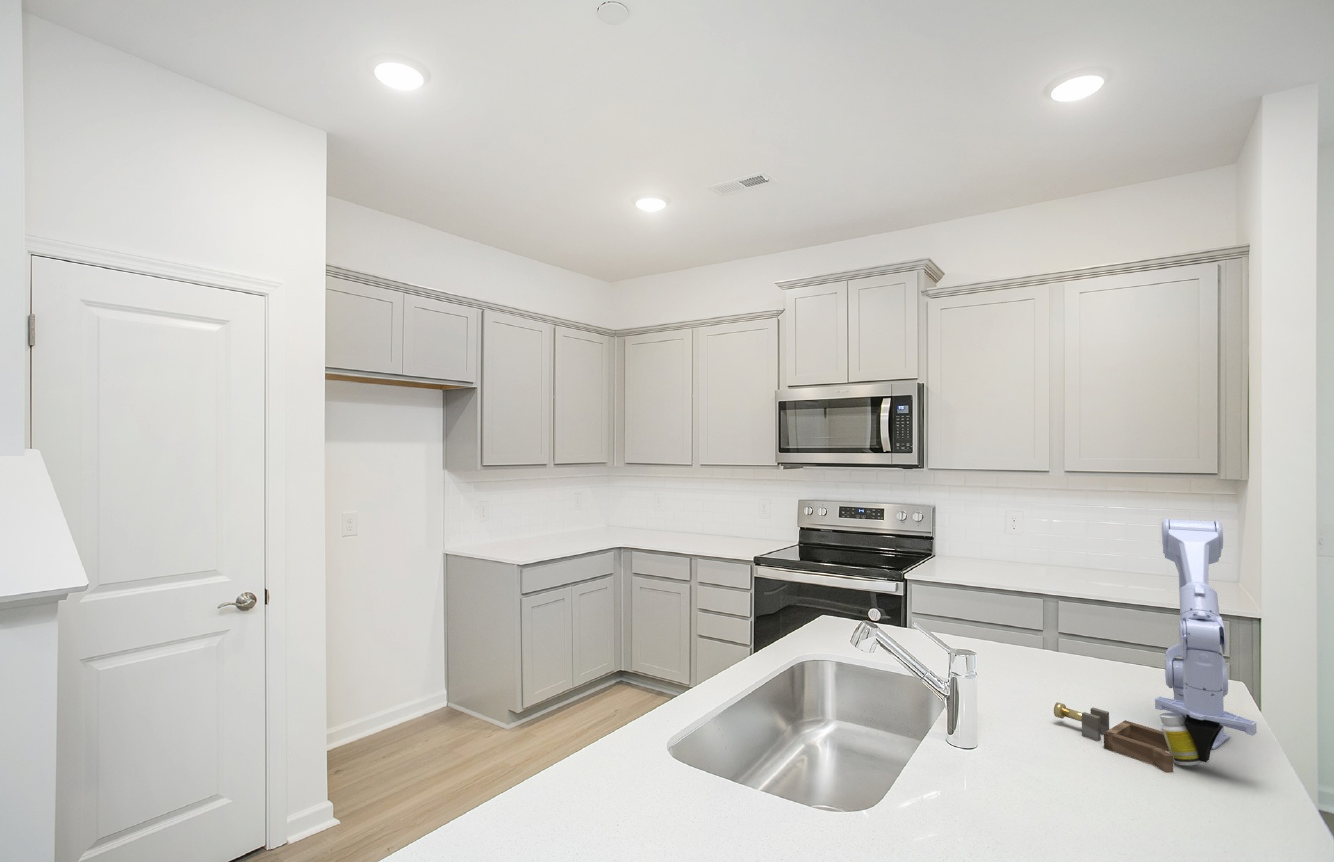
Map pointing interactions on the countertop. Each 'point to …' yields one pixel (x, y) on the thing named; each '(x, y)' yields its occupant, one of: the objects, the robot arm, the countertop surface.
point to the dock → (1128, 739)
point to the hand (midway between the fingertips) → (1204, 760)
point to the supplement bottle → (1179, 739)
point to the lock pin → (1066, 712)
